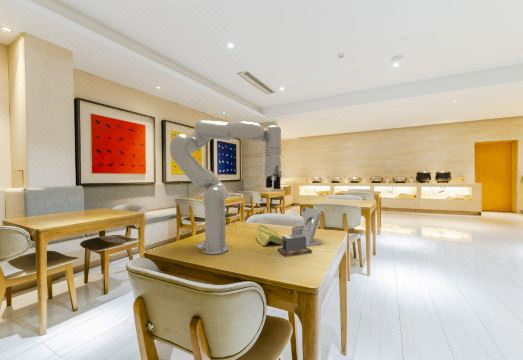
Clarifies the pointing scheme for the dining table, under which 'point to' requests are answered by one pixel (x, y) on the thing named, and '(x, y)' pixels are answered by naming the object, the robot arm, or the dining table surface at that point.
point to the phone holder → (308, 226)
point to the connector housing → (293, 242)
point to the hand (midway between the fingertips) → (272, 188)
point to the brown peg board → (293, 252)
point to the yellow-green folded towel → (267, 235)
